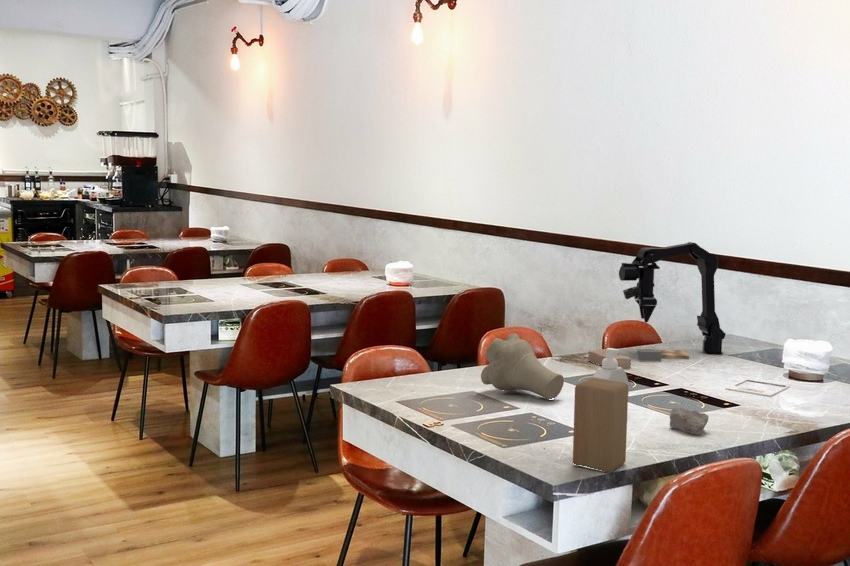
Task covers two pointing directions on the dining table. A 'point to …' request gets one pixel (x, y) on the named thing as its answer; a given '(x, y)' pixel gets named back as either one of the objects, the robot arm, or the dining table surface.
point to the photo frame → (755, 391)
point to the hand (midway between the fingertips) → (644, 320)
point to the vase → (519, 369)
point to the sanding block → (649, 355)
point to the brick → (600, 354)
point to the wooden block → (600, 424)
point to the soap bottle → (611, 369)
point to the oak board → (674, 354)
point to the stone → (688, 420)
